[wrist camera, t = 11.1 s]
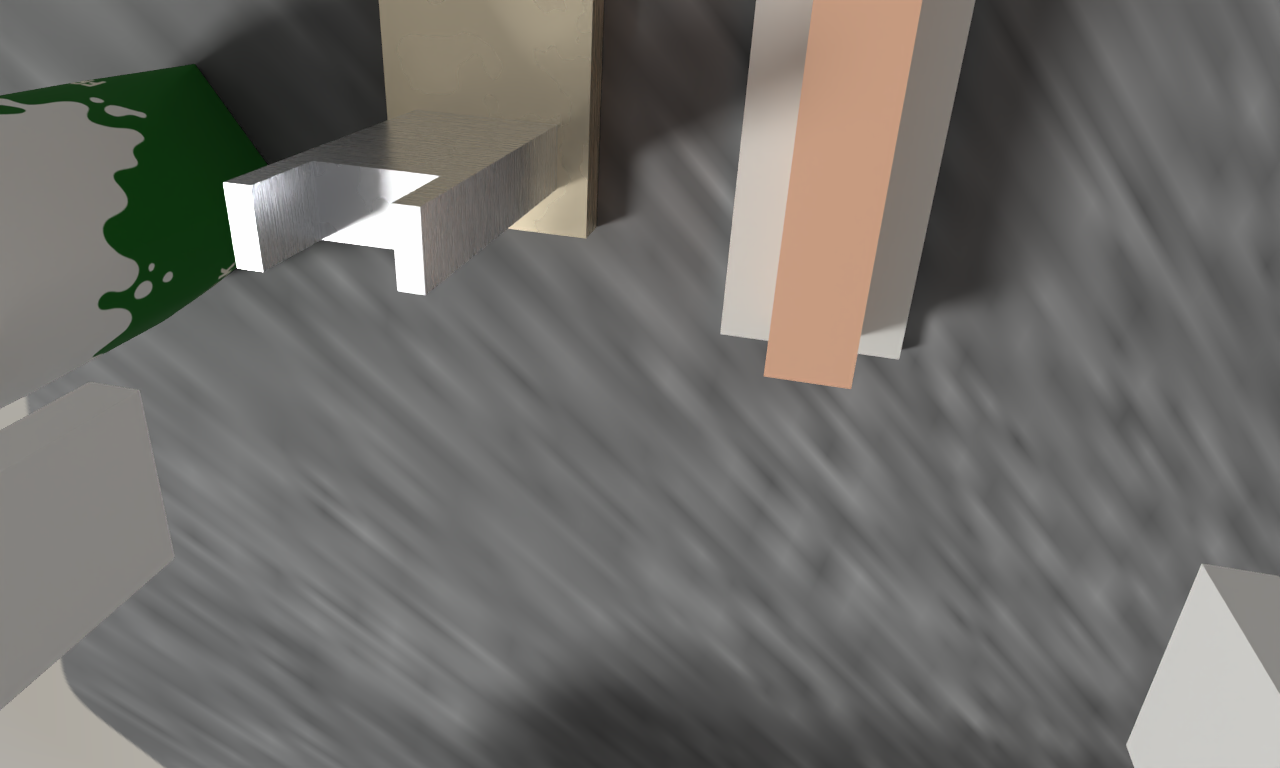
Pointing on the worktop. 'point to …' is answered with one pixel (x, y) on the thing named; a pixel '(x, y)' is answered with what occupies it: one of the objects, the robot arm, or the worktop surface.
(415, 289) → the hook stand
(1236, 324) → the worktop surface
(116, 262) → the milk carton
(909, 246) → the mat
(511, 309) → the worktop surface
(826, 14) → the rail
